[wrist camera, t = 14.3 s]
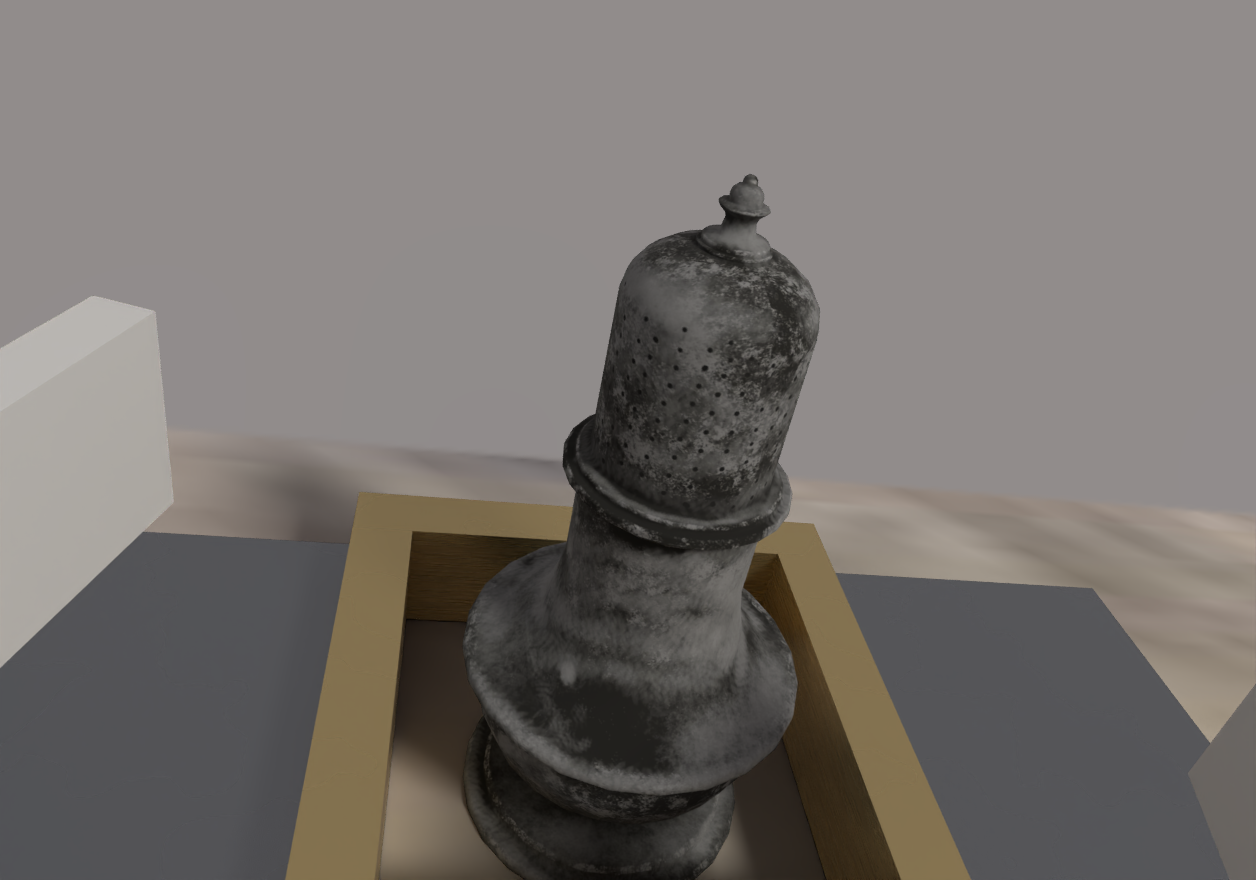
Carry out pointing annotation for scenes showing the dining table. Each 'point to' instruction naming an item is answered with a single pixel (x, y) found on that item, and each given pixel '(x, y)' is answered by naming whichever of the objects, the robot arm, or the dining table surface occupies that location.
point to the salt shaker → (650, 579)
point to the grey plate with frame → (445, 590)
